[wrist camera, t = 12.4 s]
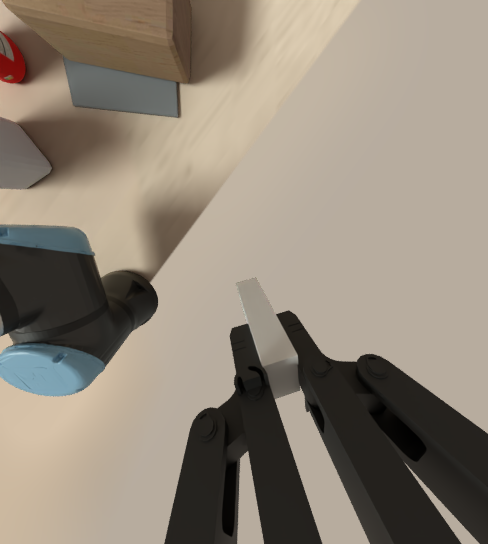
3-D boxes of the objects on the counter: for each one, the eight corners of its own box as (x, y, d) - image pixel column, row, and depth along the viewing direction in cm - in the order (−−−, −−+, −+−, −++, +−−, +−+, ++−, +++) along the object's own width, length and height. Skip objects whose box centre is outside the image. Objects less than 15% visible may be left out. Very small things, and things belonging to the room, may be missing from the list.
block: (173, -88, 19) (-43, -151, 17) (174, 42, 23) (-5, 2, 21) (192, 5, 29) (53, -28, 27) (191, 87, 32) (68, 63, 30)
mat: (75, 106, 33) (73, 105, 32) (42, -52, 26) (38, -57, 26) (178, 117, 34) (177, 116, 34) (171, -30, 28) (170, -34, 27)
